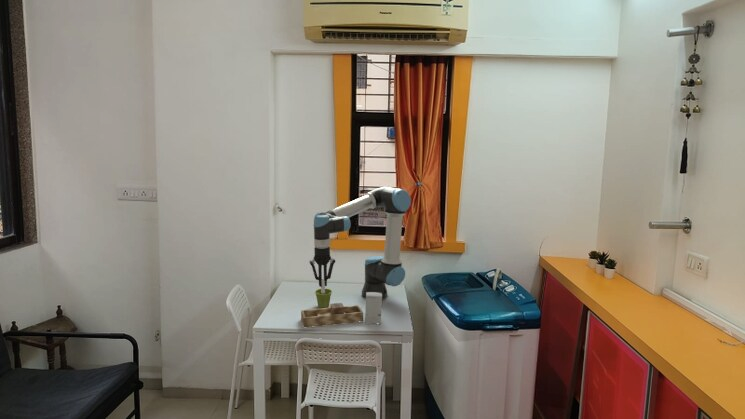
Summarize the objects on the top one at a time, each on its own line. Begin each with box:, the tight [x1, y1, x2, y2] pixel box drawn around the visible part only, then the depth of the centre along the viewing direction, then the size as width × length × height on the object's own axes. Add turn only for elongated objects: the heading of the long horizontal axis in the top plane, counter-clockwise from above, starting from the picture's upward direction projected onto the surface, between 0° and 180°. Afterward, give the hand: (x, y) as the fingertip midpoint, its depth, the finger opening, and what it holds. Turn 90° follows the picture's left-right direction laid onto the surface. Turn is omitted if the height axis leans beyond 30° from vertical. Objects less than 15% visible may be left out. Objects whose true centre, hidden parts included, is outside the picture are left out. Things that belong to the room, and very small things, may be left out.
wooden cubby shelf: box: [300, 304, 364, 328], centre depth 230 cm, size 30×10×5 cm, turn 106°
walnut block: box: [329, 302, 344, 315], centre depth 230 cm, size 6×6×5 cm
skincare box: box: [364, 292, 383, 325], centre depth 229 cm, size 8×6×15 cm
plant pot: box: [314, 288, 333, 309], centre depth 248 cm, size 9×9×9 cm
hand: (323, 292), depth 227 cm, fingers closed
